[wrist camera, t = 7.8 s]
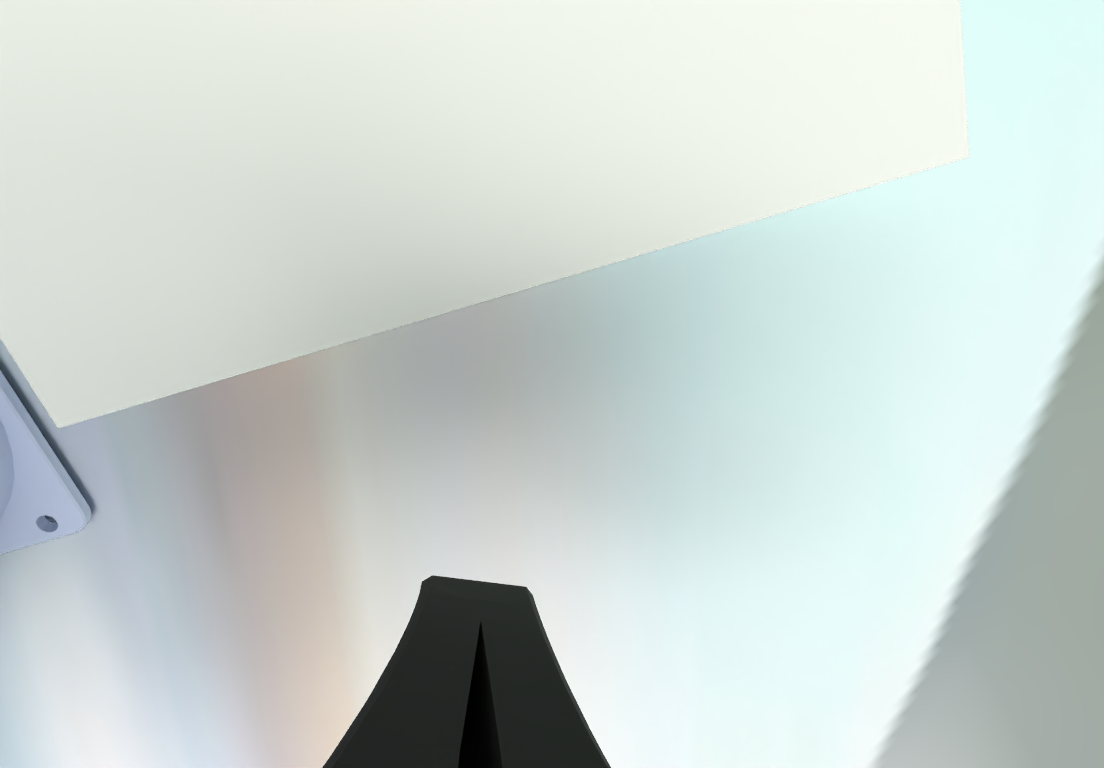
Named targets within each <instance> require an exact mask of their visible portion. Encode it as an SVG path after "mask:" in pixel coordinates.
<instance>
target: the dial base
mask: <svg viewBox="0 0 1104 768" xmlns="http://www.w3.org/2000/svg"><path fill="white" fill-rule="evenodd" d="M966 158H969V141H968V124H967V106H966V89H965V72H964V55H963V37H962V20H961V3H960V0H0V339H1V340H2V342H3V344H4V345H5V347H6V348H7V350H8V351H9V353H10V355H11V356H12V358H13V359H14V361H15V362H16V364H17V365H18V367H19V369H20V370H21V372H22V373H23V375H24V376H25V378H26V380H27V381H28V383H29V384H30V386H31V387H32V389H33V390H34V392H35V394H36V395H37V397H38V398H39V400H40V401H41V403H42V405H43V406H44V408H45V409H46V411H47V412H48V414H49V415H50V417H51V419H52V420H53V422H54V423H55V425H56V426H57V428H58V429H59V428H62V427H65V426H69V425H72V424H76V423H79V422H82V421H86V420H89V419H92V418H96V417H99V416H102V415H106V414H109V413H112V412H116V411H119V410H123V409H126V408H129V407H133V406H136V405H139V404H143V403H146V402H149V401H153V400H156V399H159V398H163V397H166V396H170V395H173V394H176V393H180V392H183V391H186V390H190V389H193V388H196V387H200V386H203V385H206V384H210V383H213V382H217V381H220V380H223V379H227V378H230V377H233V376H237V375H240V374H243V373H247V372H250V371H254V370H257V369H260V368H264V367H267V366H270V365H274V364H277V363H280V362H284V361H287V360H290V359H294V358H297V357H301V356H304V355H307V354H311V353H314V352H317V351H321V350H324V349H327V348H331V347H334V346H337V345H341V344H344V343H348V342H351V341H354V340H358V339H361V338H364V337H368V336H371V335H374V334H378V333H381V332H384V331H388V330H391V329H395V328H398V327H401V326H405V325H408V324H411V323H415V322H418V321H421V320H425V319H428V318H432V317H435V316H438V315H442V314H445V313H448V312H452V311H455V310H458V309H462V308H465V307H468V306H472V305H475V304H479V303H482V302H485V301H489V300H492V299H495V298H499V297H502V296H505V295H509V294H512V293H515V292H519V291H522V290H526V289H529V288H532V287H536V286H539V285H542V284H546V283H549V282H552V281H556V280H559V279H562V278H566V277H569V276H573V275H576V274H579V273H583V272H586V271H589V270H593V269H596V268H599V267H603V266H606V265H610V264H613V263H616V262H620V261H623V260H626V259H630V258H633V257H636V256H640V255H643V254H646V253H650V252H653V251H657V250H660V249H663V248H667V247H670V246H673V245H677V244H680V243H683V242H687V241H690V240H693V239H697V238H700V237H704V236H707V235H710V234H714V233H717V232H720V231H724V230H727V229H730V228H734V227H737V226H740V225H744V224H747V223H751V222H754V221H757V220H761V219H764V218H767V217H771V216H774V215H777V214H781V213H784V212H788V211H791V210H794V209H798V208H801V207H804V206H808V205H811V204H814V203H818V202H821V201H824V200H828V199H831V198H835V197H838V196H841V195H845V194H848V193H851V192H855V191H858V190H861V189H865V188H868V187H871V186H875V185H878V184H882V183H885V182H888V181H892V180H895V179H898V178H902V177H905V176H908V175H912V174H915V173H919V172H922V171H925V170H929V169H932V168H935V167H939V166H942V165H945V164H949V163H952V162H955V161H959V160H962V159H966Z"/></svg>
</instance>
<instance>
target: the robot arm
mask: <svg viewBox="0 0 1104 768" xmlns="http://www.w3.org/2000/svg"><path fill="white" fill-rule="evenodd" d="M45 515H47V516H50V517H53V518H54V519H55V520H56V521H57V524H55V523H52V522H50V521H48V520H47V519H46V518H45ZM90 519H91V510H90V507H89V505H88V504H87V502H86V501H85V499H84V498H83V496H82V495H81V493H80V492H79V490H78V488H77V487H76V485H75V484H74V482H73V481H72V479H71V478H70V476H69V475H68V473H67V472H66V470H65V469H64V467H63V465H62V464H61V462H60V461H59V459H58V458H57V456H56V455H55V453H54V452H53V450H52V449H51V447H50V446H49V444H48V442H47V441H46V439H45V438H44V436H43V435H42V433H41V432H40V430H39V429H38V427H37V426H36V424H35V423H34V421H33V419H32V418H31V416H30V415H29V413H28V412H27V410H26V409H25V407H24V406H23V404H22V403H21V401H20V400H19V398H18V396H17V395H16V393H15V392H14V390H13V389H12V387H11V386H10V384H9V383H8V381H7V380H6V378H5V377H4V375H3V373H2V372H1V370H0V555H1V554H4V553H8V552H11V551H15V550H18V549H22V548H25V547H29V546H32V545H36V544H39V543H43V542H46V541H50V540H53V539H57V538H60V537H63V536H67V535H70V534H74V533H77V532H79V531H81V530H82V529H83V528H84V527H85V526H86V524H87V523H88V522H89V520H90ZM323 768H611V767H610V765H609V763H608V762H607V760H606V758H605V756H604V755H603V753H602V751H601V749H600V747H599V745H598V743H597V741H596V740H595V738H594V736H593V734H592V732H591V730H590V728H589V726H588V724H587V722H586V720H585V718H584V716H583V714H582V712H581V710H580V708H579V706H578V704H577V702H576V700H575V698H574V696H573V694H572V692H571V690H570V688H569V686H568V683H567V681H566V679H565V677H564V675H563V672H562V670H561V668H560V666H559V663H558V661H557V659H556V656H555V654H554V652H553V649H552V647H551V645H550V642H549V640H548V637H547V635H546V632H545V629H544V627H543V624H542V621H541V619H540V616H539V613H538V610H537V607H536V604H535V601H534V598H533V595H532V594H531V593H530V591H529V590H528V589H527V587H523V586H514V585H506V584H498V583H490V582H481V581H473V580H465V579H457V578H449V577H440V576H431V577H429V578H427V579H426V580H424V581H422V585H421V589H420V594H419V597H418V600H417V603H416V606H415V609H414V611H413V614H412V616H411V618H410V621H409V623H408V625H407V628H406V630H405V632H404V634H403V636H402V638H401V640H400V642H399V644H398V646H397V648H396V650H395V652H394V654H393V656H392V657H391V659H390V661H389V663H388V665H387V666H386V668H385V670H384V672H383V673H382V675H381V677H380V679H379V681H378V682H377V684H376V686H375V688H374V689H373V691H372V693H371V695H370V696H369V698H368V700H367V701H366V703H365V705H364V706H363V708H362V709H361V711H360V712H359V714H358V715H357V717H356V718H355V720H354V721H353V723H352V724H351V726H350V727H349V729H348V731H347V732H346V734H345V735H344V737H343V738H342V740H341V741H340V743H339V744H338V746H337V747H336V749H335V750H334V752H333V753H332V755H331V756H330V758H329V759H328V761H327V762H326V763H325V765H324V766H323Z"/></svg>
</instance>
